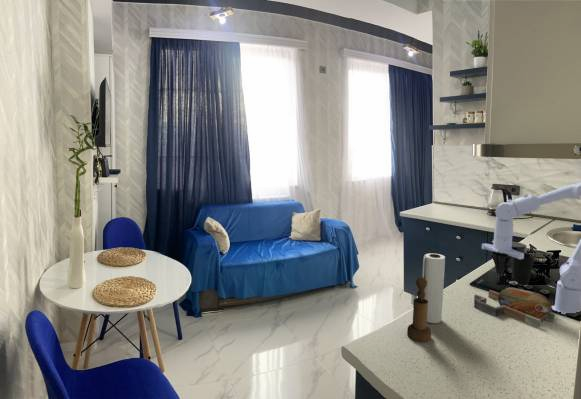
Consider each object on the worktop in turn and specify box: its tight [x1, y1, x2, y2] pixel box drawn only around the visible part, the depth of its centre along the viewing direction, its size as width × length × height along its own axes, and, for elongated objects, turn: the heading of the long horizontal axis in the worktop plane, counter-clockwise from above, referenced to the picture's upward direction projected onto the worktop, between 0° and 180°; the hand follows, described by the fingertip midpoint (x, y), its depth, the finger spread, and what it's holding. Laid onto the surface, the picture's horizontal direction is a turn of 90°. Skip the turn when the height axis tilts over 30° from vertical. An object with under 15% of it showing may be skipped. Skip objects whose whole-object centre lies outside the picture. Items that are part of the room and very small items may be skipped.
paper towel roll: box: [422, 253, 446, 324], centre depth 121 cm, size 7×6×21 cm
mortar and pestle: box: [407, 276, 432, 343], centre depth 111 cm, size 7×6×18 cm
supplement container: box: [507, 241, 528, 268], centre depth 166 cm, size 10×10×12 cm
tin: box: [497, 286, 552, 321], centre depth 125 cm, size 15×3×8 cm, turn 44°
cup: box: [511, 252, 535, 285], centre depth 150 cm, size 8×8×12 cm
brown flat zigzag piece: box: [473, 289, 556, 329], centre depth 128 cm, size 17×22×2 cm
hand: (499, 273), depth 137 cm, fingers closed
